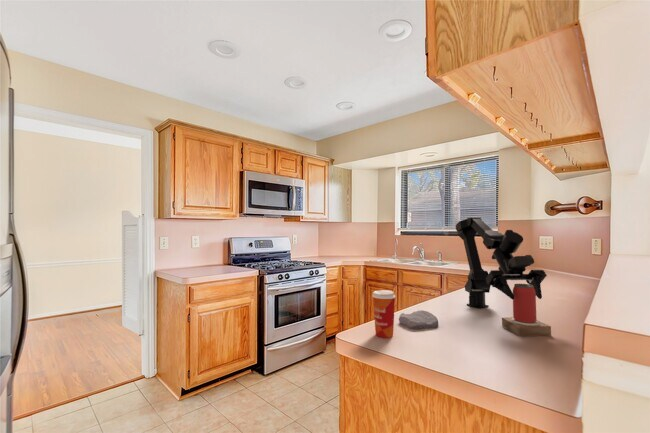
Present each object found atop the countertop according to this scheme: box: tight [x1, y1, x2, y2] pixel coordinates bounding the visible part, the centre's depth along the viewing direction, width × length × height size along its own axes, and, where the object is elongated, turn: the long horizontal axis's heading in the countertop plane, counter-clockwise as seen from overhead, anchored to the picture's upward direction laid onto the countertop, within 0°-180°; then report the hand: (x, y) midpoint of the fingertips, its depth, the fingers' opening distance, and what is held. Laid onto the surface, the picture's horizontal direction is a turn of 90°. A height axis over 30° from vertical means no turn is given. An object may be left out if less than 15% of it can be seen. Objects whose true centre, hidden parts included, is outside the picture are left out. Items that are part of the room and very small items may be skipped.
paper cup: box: [371, 289, 396, 339], centre depth 102 cm, size 8×8×14 cm
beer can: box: [512, 283, 538, 323], centre depth 105 cm, size 7×7×12 cm
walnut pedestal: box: [501, 316, 552, 337], centre depth 104 cm, size 10×10×3 cm
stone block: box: [398, 309, 439, 330], centre depth 112 cm, size 12×5×10 cm
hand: (527, 298), depth 103 cm, fingers open, 9 cm apart
